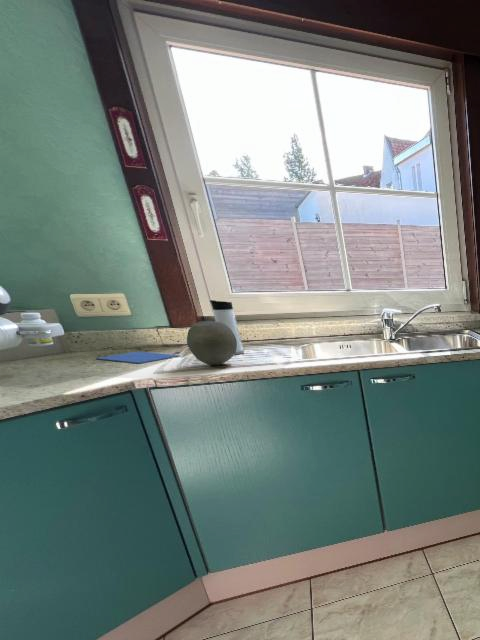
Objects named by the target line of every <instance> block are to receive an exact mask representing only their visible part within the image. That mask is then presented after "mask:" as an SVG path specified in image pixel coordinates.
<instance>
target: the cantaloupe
mask: <svg viewBox="0 0 480 640" xmlns="http://www.w3.org/2000/svg"><path fill="white" fill-rule="evenodd" d="M186 335H187V336H186V345H187V347H188V350H189V351H190V352H191V354H192V355H193V356H194V357H195V359H196V360H198V361H199V362H201V363H203V364H206V365H209V366H220V365H223V364H225V363H227V362H228V361H229V360H231V359H232V358H233V357H234V356H235V355H234V354H235V352H236V349H237V341H236V337H235V335H234V333H233V332H232V330H231V329H230V328H229V327H228V326H227V325H225V324H223V323H221V322H217V321H215V320H202V321H199V322H195V323H194V324H192V325H191V326H190V328H189V329H188V331H187V334H186Z"/></svg>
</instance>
